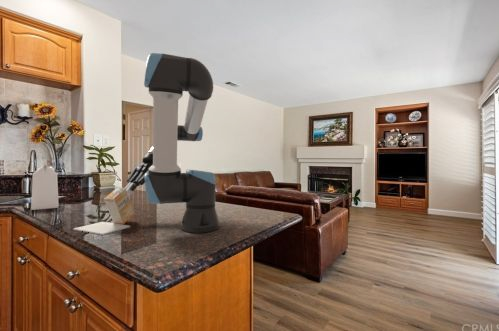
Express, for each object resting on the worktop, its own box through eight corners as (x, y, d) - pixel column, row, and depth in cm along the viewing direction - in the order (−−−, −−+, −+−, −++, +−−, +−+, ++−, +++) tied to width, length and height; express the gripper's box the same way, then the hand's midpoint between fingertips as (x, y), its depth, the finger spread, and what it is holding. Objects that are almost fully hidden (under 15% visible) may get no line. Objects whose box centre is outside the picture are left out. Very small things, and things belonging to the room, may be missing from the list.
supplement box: (124, 224, 104) (113, 199, 98) (114, 224, 105) (102, 198, 99) (135, 212, 111) (126, 187, 105) (125, 212, 112) (115, 187, 106)
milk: (31, 206, 141) (31, 160, 140) (57, 204, 148) (57, 160, 148) (31, 209, 132) (30, 160, 131) (58, 207, 139) (58, 160, 138)
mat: (130, 227, 101) (130, 225, 101) (102, 235, 90) (102, 233, 90) (102, 222, 107) (102, 221, 107) (73, 229, 96) (73, 228, 96)
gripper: (168, 163, 123) (140, 202, 108) (146, 163, 129) (118, 199, 114) (160, 152, 118) (130, 191, 103) (138, 152, 124) (107, 189, 109)
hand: (124, 195), depth 109 cm, fingers closed
